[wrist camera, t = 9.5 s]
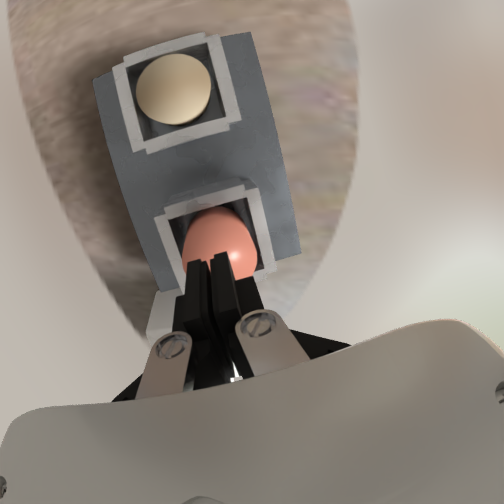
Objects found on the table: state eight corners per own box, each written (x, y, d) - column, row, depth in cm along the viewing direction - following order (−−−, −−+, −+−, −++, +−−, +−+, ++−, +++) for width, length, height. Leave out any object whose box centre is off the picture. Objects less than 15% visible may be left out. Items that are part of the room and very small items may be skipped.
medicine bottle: (174, 341, 31) (167, 427, 20) (155, 289, 28) (133, 375, 17) (234, 331, 31) (249, 418, 20) (223, 277, 28) (235, 362, 18)
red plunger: (178, 216, 18) (171, 236, 15) (239, 199, 19) (247, 215, 15) (197, 271, 20) (195, 301, 16) (253, 255, 20) (264, 282, 17)
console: (112, 89, 20) (71, 71, 12) (242, 50, 20) (259, 13, 12) (167, 266, 27) (154, 317, 19) (285, 233, 28) (316, 273, 20)
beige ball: (144, 80, 16) (129, 68, 12) (202, 63, 16) (201, 45, 12) (157, 134, 18) (145, 133, 14) (216, 116, 18) (218, 110, 14)
